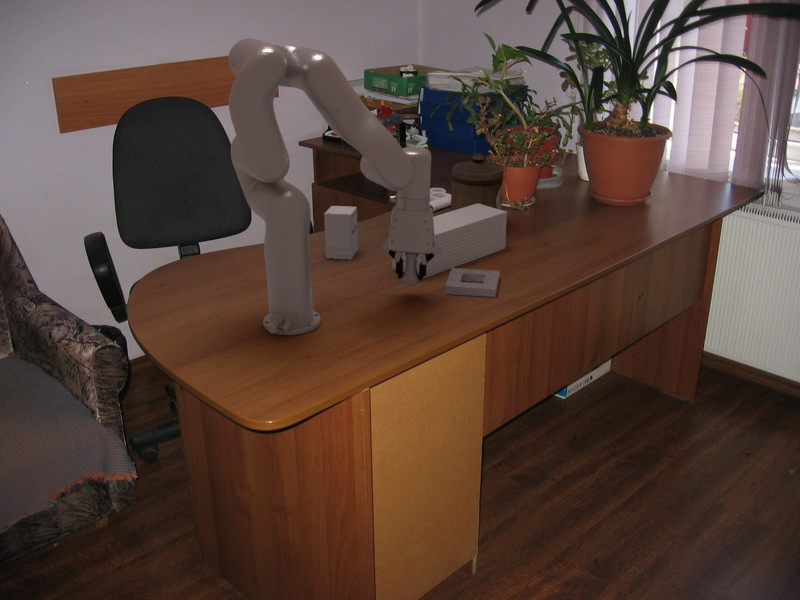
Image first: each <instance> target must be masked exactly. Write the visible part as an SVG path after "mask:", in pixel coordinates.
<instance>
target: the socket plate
mask: <svg viewBox="0 0 800 600" xmlns="http://www.w3.org/2000/svg"><path fill="white" fill-rule="evenodd" d="M500 275H501V273H500V270H492V269H491V270H490V269H489V270H488V269H478V268H477V269H476V268H474V269H473V268H472V269H471V268H458V267H454V268H451V269H450V271H449V275H448V276H447V280H446V282H445V285H444V294H445V295H456V296H468V297H469V296H471V297H484V298H485V297H486V298H496V295H497V291H498V288H499V287H498V286H499V282H500Z"/></svg>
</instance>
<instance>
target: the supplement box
mask: <svg viewBox="0 0 800 600" xmlns="http://www.w3.org/2000/svg"><path fill="white" fill-rule="evenodd" d="M323 217H324V218H323V219H324V223H323V224H324V238H325V239H324V241H325V259H331V258H332V260H333V259H336V260H346V259H348V261H350V260H351V261H352V260H353V258H354V256H355V255H356V253H357V252H358V251H359V239H358V236H359V234H358V233H359V232H358V208H357V206H347V205H345V206H343V205H342V206H341V205H331V206H329V208H328V209H327V210H326V211H325V212H324V214H323Z"/></svg>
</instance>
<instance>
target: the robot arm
mask: <svg viewBox="0 0 800 600" xmlns="http://www.w3.org/2000/svg"><path fill="white" fill-rule="evenodd" d="M228 65H229V68H230V70H231V72H232V73H233V74H234V76H235V79H234V80H233V83H232V86H231V89H230V93H229V96H228V110H229V115H230V119H231V122H232V125H233V128H234V132H235V136H234V138H233V139H232V141H231V146H230V158H231V163H232V166H233V168H234V171H235V173H236V176H237V180H238V181H239V185H240V187H241V189H242V192H243V195H244V198H245V200H246V202H247V204H248V206H249V208H250V209H251V210H252V212H253V213H254V214H255V215H256V216H258V217H259V218H261V220H263V221H264V223H265V231H264V241H263V250H264V251H263V252H264V262H265V263H264V264H265V269H266V270H265V273H266V284H267V286H266V288H267V298H268V310H269V312H268V313H267V314H266V315H265V316H264V318H263V320H262V325H263V327H264V329H265V330H266V331H268V332H269V333H270V334H275V335H280V336H296V335H303V334H306V333H309V332H312V331H313V330H315V329H317V328H318V327H319V326H320V324H321V315H320V314H319V312H317V310H314V306H313V305H314V304H313V289H312V288H313V287H312V274H311V273H312V272H311V271H312V270H311V256H310V227H311V226H310V225H311V217H312V216H311V214H312V212H311V211H312V210H311V205H310V203H309V199H308V198H307V196H306V195H305V193H303V192H302V190H300V188H298V187H296V186H295V185H293V184H291V183H289V181H286V179H285V177H286V176H287V175H288V173H289V169H290V155H289V152H288V150H287V146H286V144H285V141H284V138H283V136H282V135H283V134H282V133H281V129H280V127H279V123H278V120H277V117H276V113H275V108H274V100H275V96H276V94H277V91H278V89H279V87H286V88H294V89H298V90H301V91H303V92H304V94H305V95H306V96H307V98H308V99H309V101H310V102H311V103H312V104H313V105H314V107H315V108H316V110H317V111H318V113H319V114H320V115H321V116H322V118H323V119H324V120H325V122H326V123H327V125H328V126H329V127H330V129H331V130H332V132H334V133H335V134H336V135H337V136H338V137H339V138H341V139H342V140H343V141H344V142H345V143H347V144H348V145H350V146H352V147H353V148H354V149H355V150H356V151H357V152H359V153H360V154H361V156H362V157H361V159H360V163H359V165H360V166H359V167H360V171H361V172H362V174H363V176H364V177H365V178H366V179H367V180H370V181H371V182H373V183H375V184H377V185H380V186H382V187H384V189H387V190H390V191H394V192H396V194H395V195H391V196H390V197H389V198H390V199H389V200H390V203H391V202H392V203H394V204H395V206H394V207H393V208H392V211H391V215H390V223H389V233H388V237H387V238H386V239H385V241H384V242H383V243H382V245H380V246H381V247H380V248H381V249H382V250H384V251H385V252H386V253H388V255H390V257H391V259H394V261H395V262H396V269H395V274H396V275H397V279H398V280H401V279H402V275H403V274H404V273H403V259H402V253H403V252H405V253H417V254H420V258H421V263H420V265H419V281H420V282H422V281H423V279H424V278H423V277H424V276H426V268H427V263H428V262H429V261H430V260H431V259H432V258H433V257H435V256H437V255H439V254H441V252H442V248H441V247H440V245H439V244H438V242H437V241H436V239H435V238H434V219H433V217H434V213H433V212H434V211H433V212H432V208H430V207H429V205H430V189H431V173H432V170H431V169H432V152H431V151H430V150H429V149H427V148H425V147H422V146H421V147H420V146H407V147H403V148H402V145H400V143H399V142H398V141H397V139H396V138H395V137H394V136H393V134H392V133H391V132H390V131H389V130H388V129H387V128H386V127H385V125H383V123H381V121H380V120H379V119H378V118H377V117H376V115H375V114H374V113H372V112H371V110H370V109H369V108H368V107H367V106H366V105H365V103H364V102H363V101H362V99H361V98H360V96H359V95H358V93H357V92H356V90H355V89H354V88H353V86H352V84H351V83H350V82H349V80H348V79H347V77H346V75H344V73H343V72H342V70H341V68H340V67H339V65H338V64H337V63H336V62H335V60H334V59H333V58H332V57H331V56H330V55H328V54H327V53H326V52H324V51H321V50H318V49H317V50H316V49H313V48H309V47H305V46H297V45H290V44H289V45H288V44H284V43H279V42H273V41H266V40H261V39H256V38H250V37H248V38H243V39H240V40H239V41H236V43H234V44H233V46H232V47H231V49H230V51H229V54H228ZM432 248H434V251H432ZM431 251H432V252H431ZM427 253H429V254H427Z"/></svg>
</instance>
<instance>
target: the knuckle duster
mask: <svg viewBox="0 0 800 600" xmlns="http://www.w3.org/2000/svg"><path fill="white" fill-rule="evenodd" d="M449 206H450V207H451V194H450V193H447V190H446V189H444V188H442V187H430V205H429V207H430V208H432V212H435V211H437V210H441V209H444V208H447V207H449Z"/></svg>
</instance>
